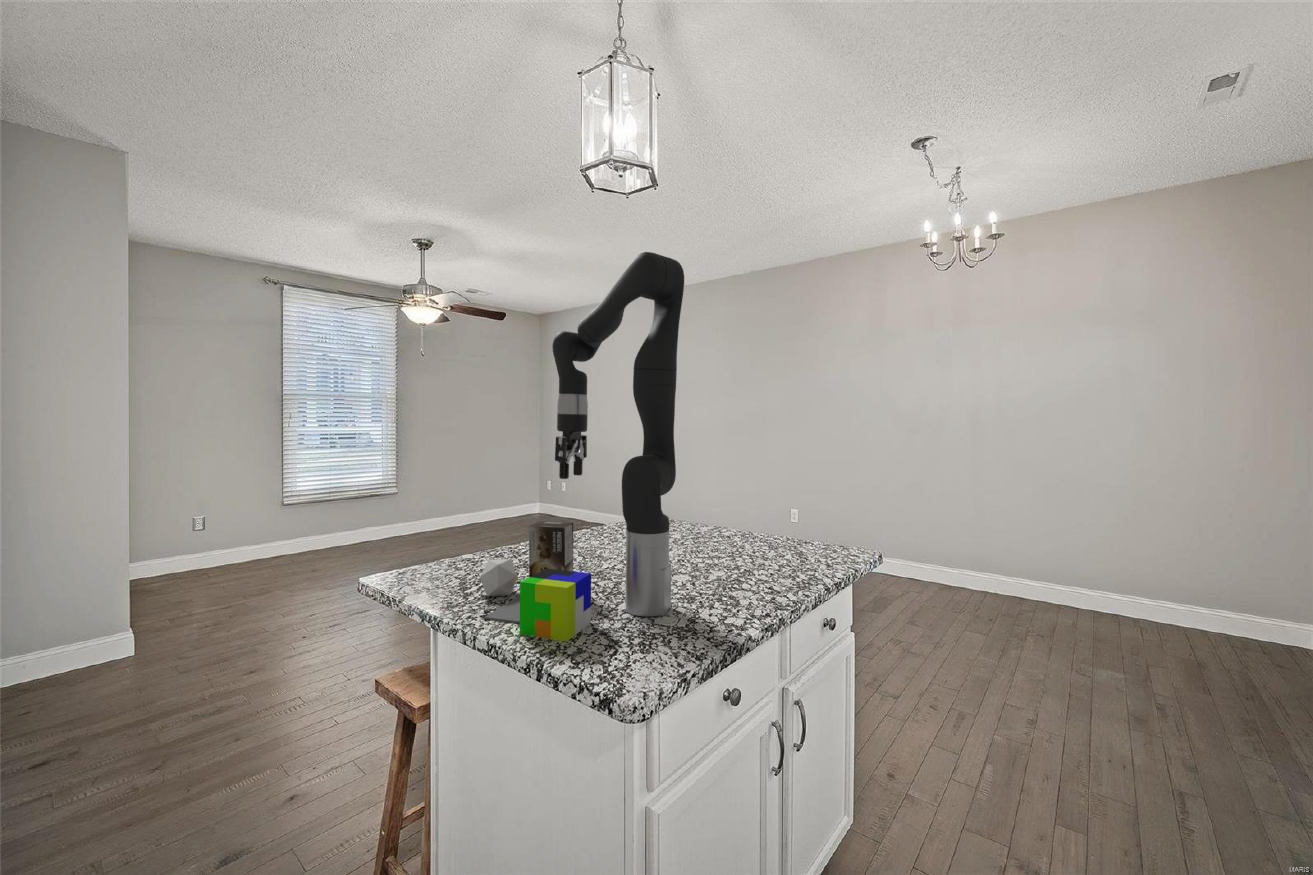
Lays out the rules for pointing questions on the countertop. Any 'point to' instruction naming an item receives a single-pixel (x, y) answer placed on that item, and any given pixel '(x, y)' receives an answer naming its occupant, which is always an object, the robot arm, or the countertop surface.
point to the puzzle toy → (555, 604)
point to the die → (499, 577)
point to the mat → (507, 612)
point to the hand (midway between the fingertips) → (571, 476)
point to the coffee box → (550, 546)
